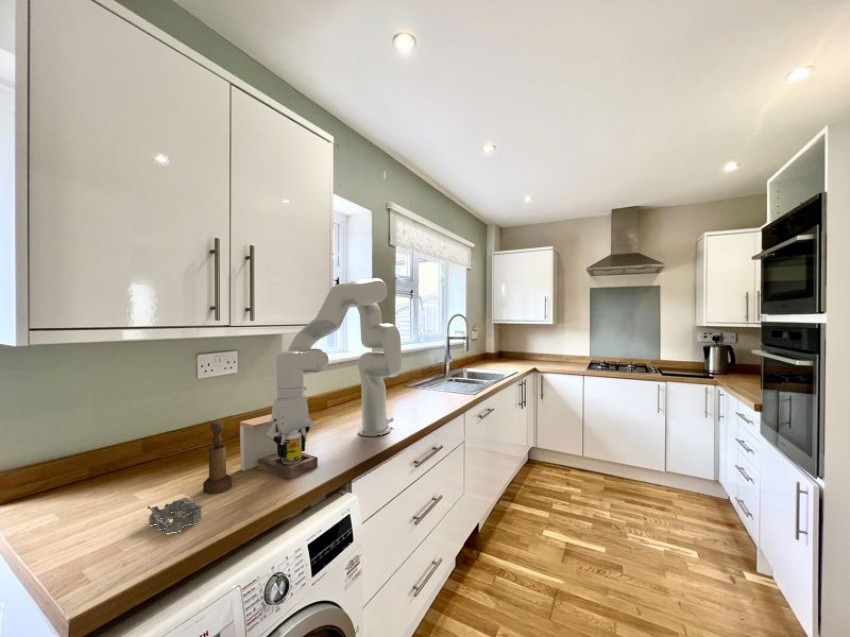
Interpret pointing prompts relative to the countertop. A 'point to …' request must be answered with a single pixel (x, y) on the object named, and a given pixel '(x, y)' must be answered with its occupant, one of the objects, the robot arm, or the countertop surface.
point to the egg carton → (176, 515)
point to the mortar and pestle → (217, 464)
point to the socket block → (280, 470)
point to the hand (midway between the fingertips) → (291, 453)
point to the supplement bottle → (293, 448)
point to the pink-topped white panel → (255, 441)
